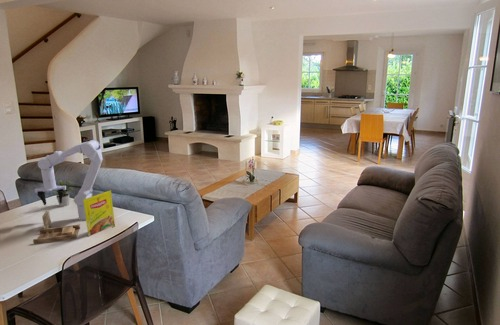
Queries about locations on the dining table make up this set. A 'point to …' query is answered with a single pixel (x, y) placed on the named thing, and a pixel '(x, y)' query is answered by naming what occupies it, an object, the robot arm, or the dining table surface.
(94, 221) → the food package
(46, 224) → the birch sheet
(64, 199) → the house plant
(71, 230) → the oak offcut stack
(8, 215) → the dining table surface
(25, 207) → the dining table surface
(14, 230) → the dining table surface
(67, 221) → the dining table surface
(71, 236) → the walnut rack
